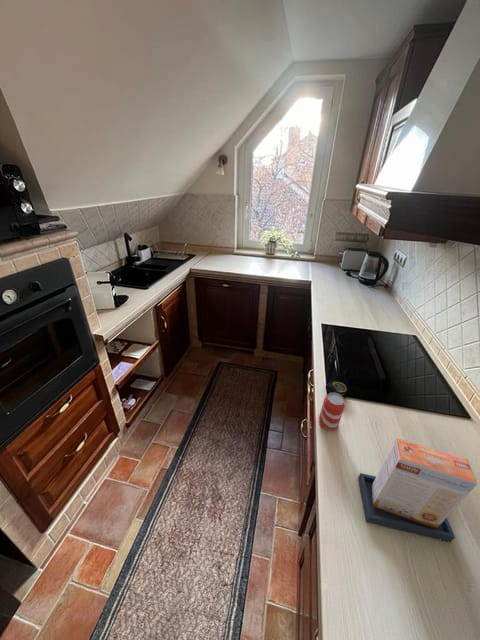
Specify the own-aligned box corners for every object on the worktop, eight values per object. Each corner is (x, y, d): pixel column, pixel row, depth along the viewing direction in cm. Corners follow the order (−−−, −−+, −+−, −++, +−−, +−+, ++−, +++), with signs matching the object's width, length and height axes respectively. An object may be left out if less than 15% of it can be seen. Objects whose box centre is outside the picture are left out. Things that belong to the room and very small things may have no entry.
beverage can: (327, 434, 83) (335, 409, 76) (314, 418, 88) (321, 394, 81) (341, 427, 85) (350, 403, 79) (328, 413, 90) (336, 388, 84)
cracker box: (429, 504, 65) (468, 457, 55) (435, 531, 60) (480, 485, 50) (370, 483, 69) (396, 436, 59) (371, 507, 64) (400, 460, 54)
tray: (430, 493, 68) (434, 488, 67) (450, 542, 59) (455, 538, 58) (357, 477, 71) (360, 472, 70) (366, 522, 62) (369, 517, 61)
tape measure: (323, 389, 99) (325, 382, 98) (337, 385, 102) (339, 378, 100) (335, 402, 94) (337, 395, 92) (349, 397, 96) (352, 390, 94)
